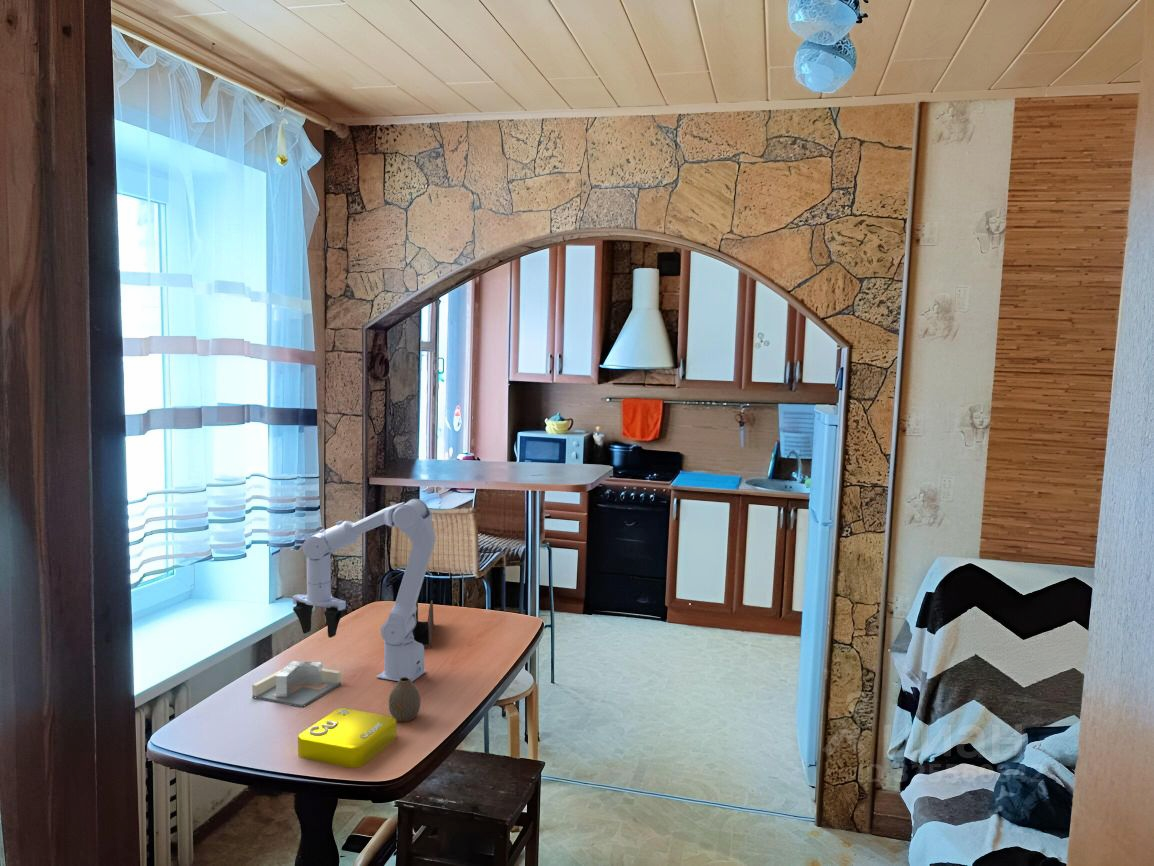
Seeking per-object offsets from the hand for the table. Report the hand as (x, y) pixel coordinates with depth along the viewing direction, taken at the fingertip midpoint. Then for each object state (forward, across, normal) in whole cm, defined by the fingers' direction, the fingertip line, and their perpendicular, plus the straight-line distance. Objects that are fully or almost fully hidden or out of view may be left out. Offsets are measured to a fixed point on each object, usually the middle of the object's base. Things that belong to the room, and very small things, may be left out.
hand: (319, 634), depth 195 cm
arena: (+9, -3, +12) cm, 16 cm away
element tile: (+10, -30, +30) cm, 43 cm away
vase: (+10, -34, +15) cm, 38 cm away
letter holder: (+10, -9, -30) cm, 33 cm away
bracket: (+9, -4, +13) cm, 16 cm away
